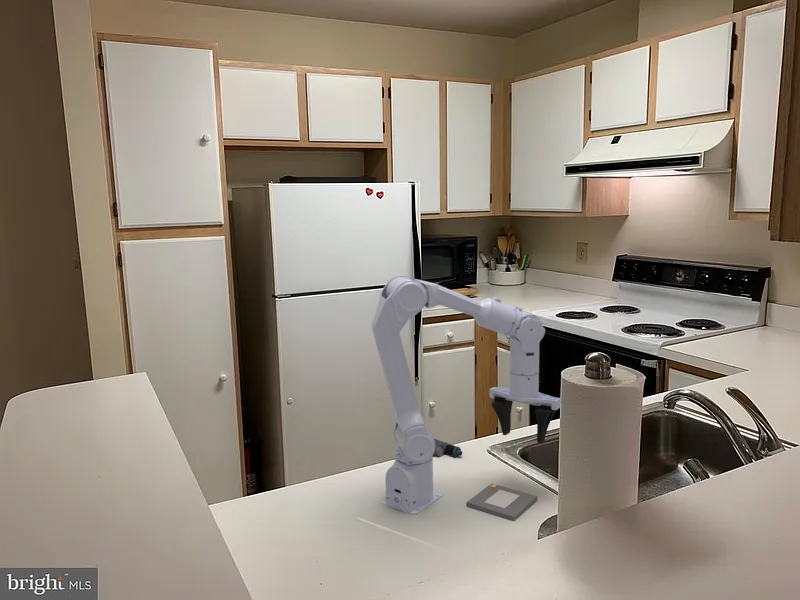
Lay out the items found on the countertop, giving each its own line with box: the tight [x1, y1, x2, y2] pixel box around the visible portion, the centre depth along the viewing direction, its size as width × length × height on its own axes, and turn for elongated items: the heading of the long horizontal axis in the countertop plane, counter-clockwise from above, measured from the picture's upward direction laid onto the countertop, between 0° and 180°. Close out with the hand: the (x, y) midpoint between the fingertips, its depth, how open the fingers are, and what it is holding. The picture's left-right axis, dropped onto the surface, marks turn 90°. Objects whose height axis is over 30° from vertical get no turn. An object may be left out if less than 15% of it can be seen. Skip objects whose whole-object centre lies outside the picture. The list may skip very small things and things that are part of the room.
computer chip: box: [465, 483, 538, 522], centre depth 120 cm, size 10×10×1 cm
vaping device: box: [433, 437, 463, 458], centre depth 145 cm, size 3×5×12 cm
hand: (523, 437), depth 125 cm, fingers open, 7 cm apart
